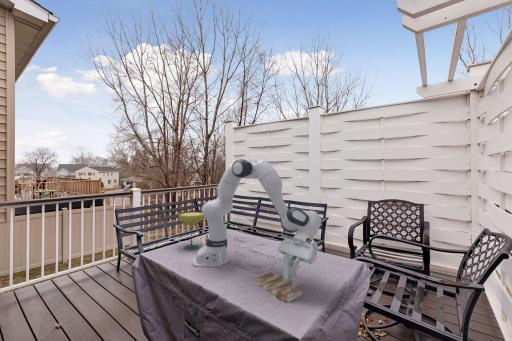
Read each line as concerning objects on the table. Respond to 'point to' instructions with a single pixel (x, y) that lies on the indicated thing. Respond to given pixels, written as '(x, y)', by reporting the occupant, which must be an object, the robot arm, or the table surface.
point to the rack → (279, 286)
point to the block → (288, 266)
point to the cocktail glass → (191, 223)
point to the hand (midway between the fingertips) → (288, 265)
